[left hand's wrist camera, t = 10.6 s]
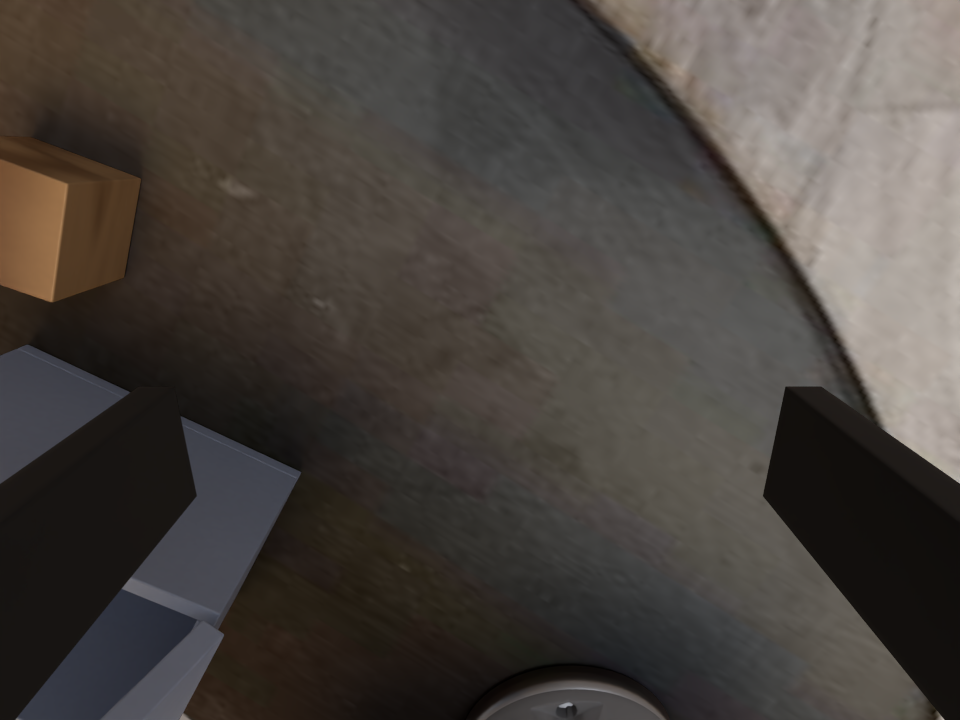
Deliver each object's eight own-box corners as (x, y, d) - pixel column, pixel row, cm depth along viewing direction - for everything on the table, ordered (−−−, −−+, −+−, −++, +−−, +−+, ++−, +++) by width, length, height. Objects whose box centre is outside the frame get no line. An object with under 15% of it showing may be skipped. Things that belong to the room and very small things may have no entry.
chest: (-19, 492, 34) (-239, 641, 23) (27, 343, 31) (-205, 440, 20) (235, 598, 36) (138, 773, 26) (301, 471, 33) (220, 614, 23)
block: (19, 241, 29) (-77, 259, 24) (30, 136, 27) (-71, 132, 22) (124, 278, 29) (52, 303, 24) (142, 178, 28) (68, 183, 23)
